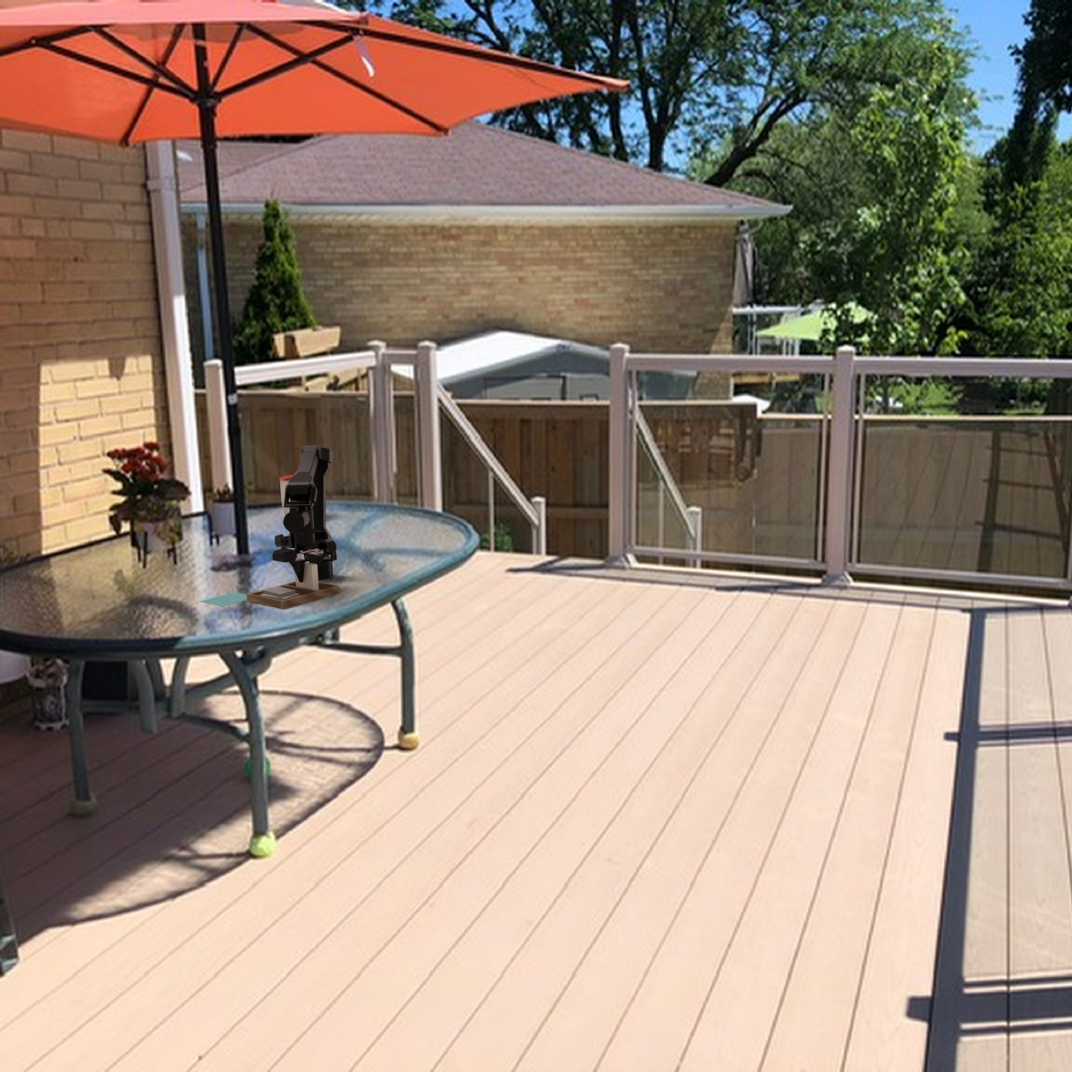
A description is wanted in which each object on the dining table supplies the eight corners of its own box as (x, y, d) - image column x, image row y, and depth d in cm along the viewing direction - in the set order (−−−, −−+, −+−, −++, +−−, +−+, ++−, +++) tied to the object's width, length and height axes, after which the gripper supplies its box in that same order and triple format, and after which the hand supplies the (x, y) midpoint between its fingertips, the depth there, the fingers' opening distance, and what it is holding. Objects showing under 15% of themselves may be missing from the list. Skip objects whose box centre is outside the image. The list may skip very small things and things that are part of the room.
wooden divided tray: (303, 589, 316) (303, 579, 315) (340, 596, 307) (339, 585, 306) (247, 604, 301) (246, 594, 300) (283, 612, 292) (282, 601, 291)
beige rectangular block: (302, 590, 310) (300, 561, 309) (319, 594, 306) (317, 564, 304) (296, 592, 309) (294, 562, 307) (313, 595, 305) (311, 565, 303)
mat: (235, 595, 311) (235, 592, 311) (258, 600, 305) (258, 596, 305) (199, 604, 302) (199, 601, 302) (222, 610, 296) (222, 606, 296)
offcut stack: (275, 596, 305) (274, 585, 305) (301, 601, 299) (300, 590, 298) (256, 601, 300) (255, 590, 300) (282, 606, 294) (281, 595, 293)
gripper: (309, 517, 316) (312, 570, 319) (256, 528, 301) (261, 584, 304) (336, 521, 309) (339, 575, 312) (283, 532, 295) (288, 589, 298)
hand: (307, 580), depth 307 cm, fingers open, 4 cm apart
